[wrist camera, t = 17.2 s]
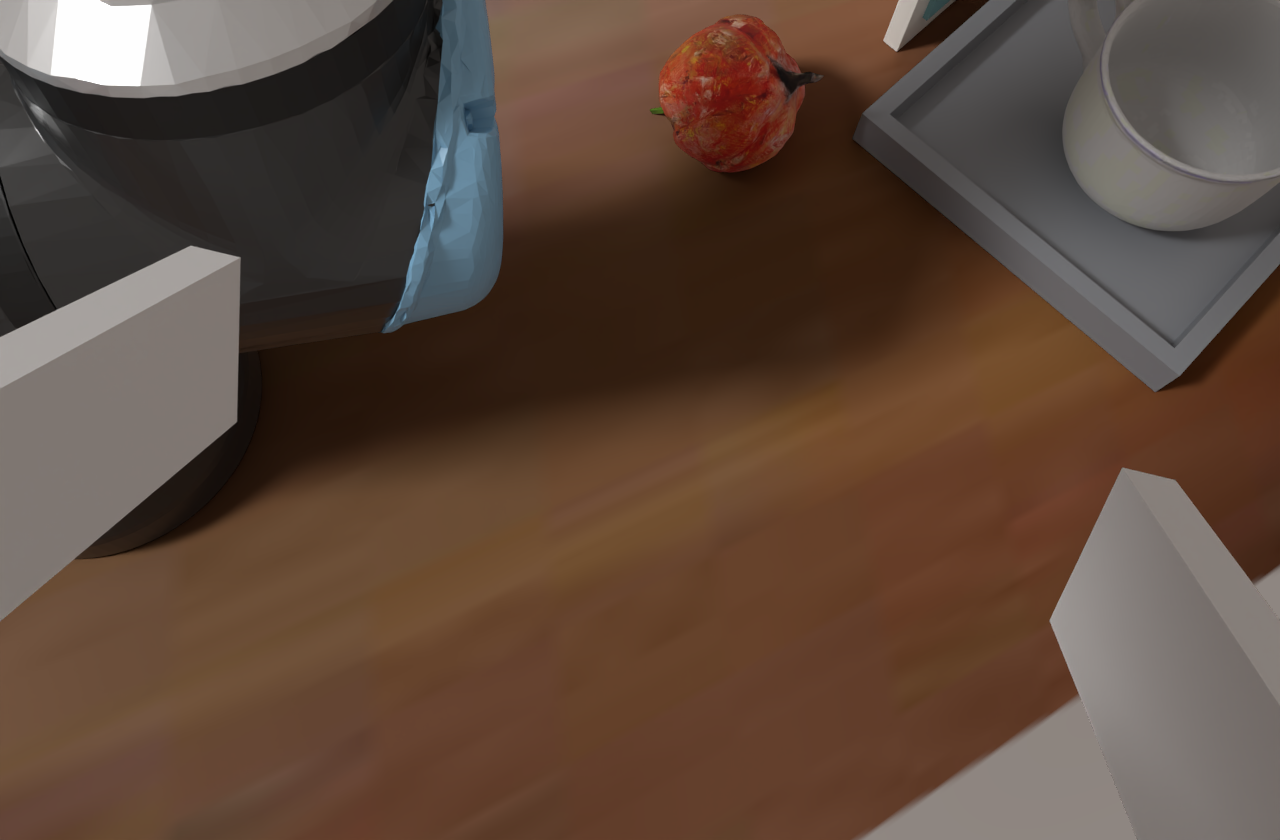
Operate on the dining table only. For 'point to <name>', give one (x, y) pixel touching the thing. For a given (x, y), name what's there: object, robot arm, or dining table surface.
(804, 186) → the dining table surface
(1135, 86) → the teacup
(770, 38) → the pomegranate
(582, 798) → the dining table surface
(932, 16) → the tag
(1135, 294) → the tray
